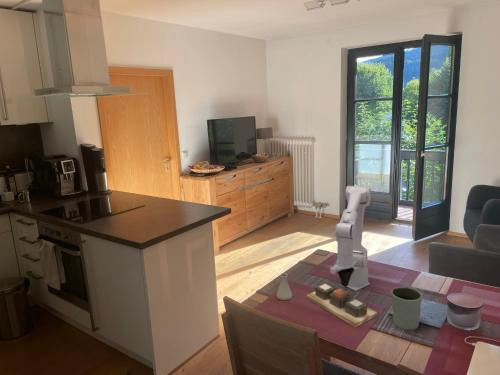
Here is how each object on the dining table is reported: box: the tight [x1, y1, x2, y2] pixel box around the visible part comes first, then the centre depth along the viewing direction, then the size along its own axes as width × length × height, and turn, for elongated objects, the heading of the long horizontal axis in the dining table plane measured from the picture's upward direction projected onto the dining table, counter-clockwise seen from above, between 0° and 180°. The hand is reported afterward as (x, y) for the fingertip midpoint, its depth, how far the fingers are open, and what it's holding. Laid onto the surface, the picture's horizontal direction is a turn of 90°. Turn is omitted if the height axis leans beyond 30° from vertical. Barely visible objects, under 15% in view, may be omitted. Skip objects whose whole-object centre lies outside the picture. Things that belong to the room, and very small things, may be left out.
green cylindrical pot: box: [390, 286, 423, 331], centre depth 133 cm, size 10×10×12 cm
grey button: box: [349, 298, 363, 308], centre depth 139 cm, size 4×4×3 cm
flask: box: [275, 272, 294, 301], centre depth 155 cm, size 7×7×10 cm
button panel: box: [305, 282, 378, 328], centre depth 146 cm, size 12×26×5 cm, turn 34°
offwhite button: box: [319, 283, 332, 291], centre depth 152 cm, size 4×4×3 cm
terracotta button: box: [333, 288, 348, 299], centre depth 145 cm, size 4×4×3 cm
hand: (344, 285), depth 144 cm, fingers closed
